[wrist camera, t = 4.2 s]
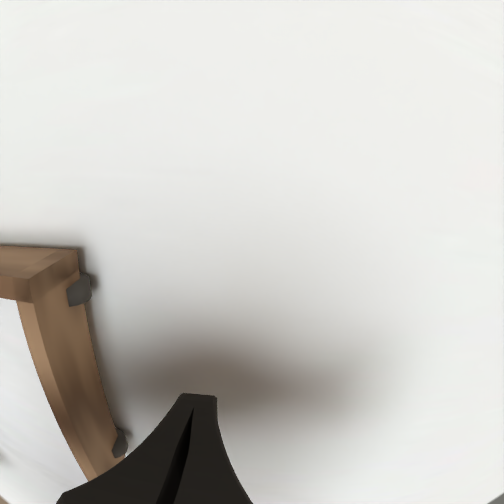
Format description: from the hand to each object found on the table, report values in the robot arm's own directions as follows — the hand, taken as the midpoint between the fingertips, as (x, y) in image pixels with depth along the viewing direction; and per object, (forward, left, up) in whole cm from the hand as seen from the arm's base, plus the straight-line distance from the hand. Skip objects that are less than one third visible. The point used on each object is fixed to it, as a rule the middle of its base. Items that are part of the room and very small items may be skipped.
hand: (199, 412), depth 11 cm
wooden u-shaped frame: (0, +15, -2) cm, 15 cm away
